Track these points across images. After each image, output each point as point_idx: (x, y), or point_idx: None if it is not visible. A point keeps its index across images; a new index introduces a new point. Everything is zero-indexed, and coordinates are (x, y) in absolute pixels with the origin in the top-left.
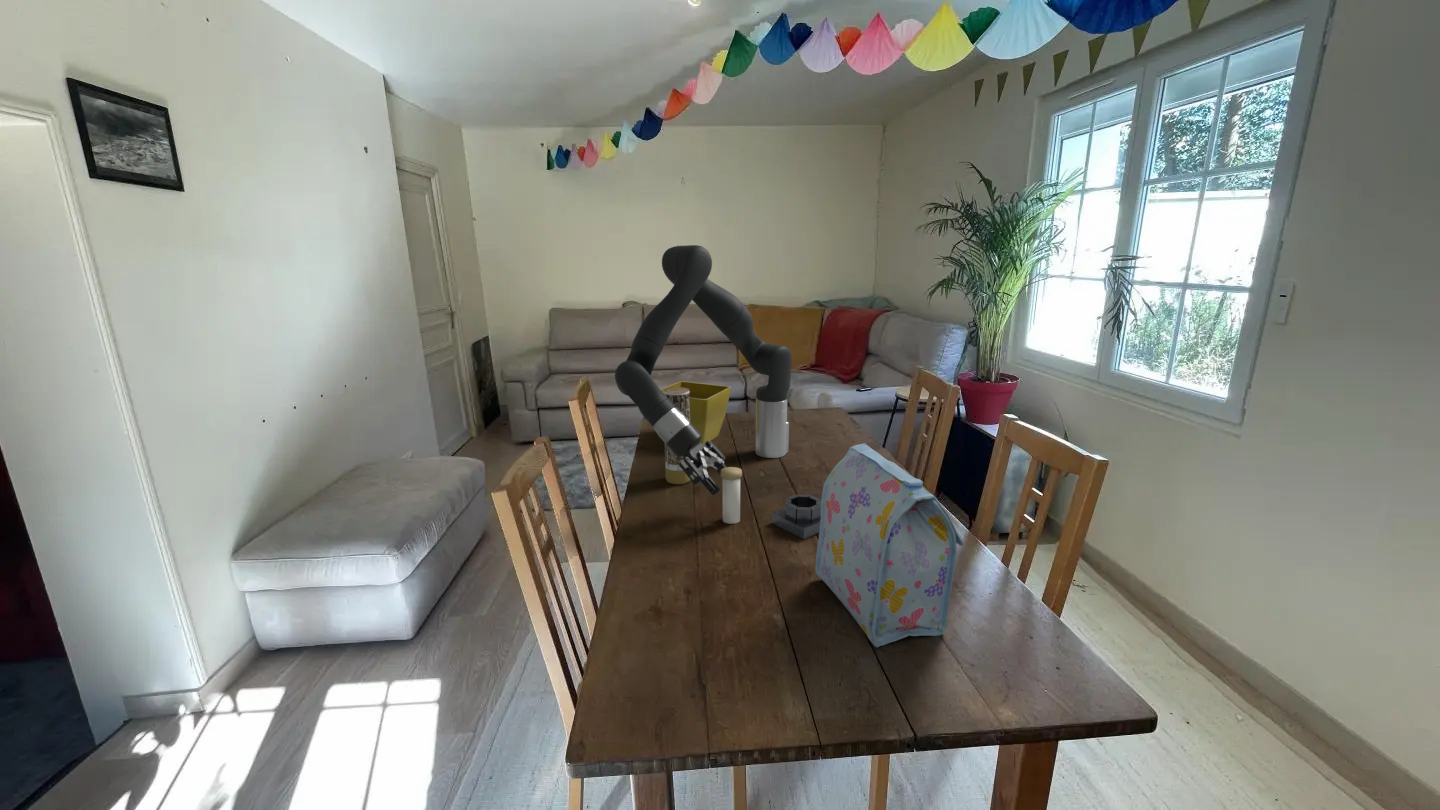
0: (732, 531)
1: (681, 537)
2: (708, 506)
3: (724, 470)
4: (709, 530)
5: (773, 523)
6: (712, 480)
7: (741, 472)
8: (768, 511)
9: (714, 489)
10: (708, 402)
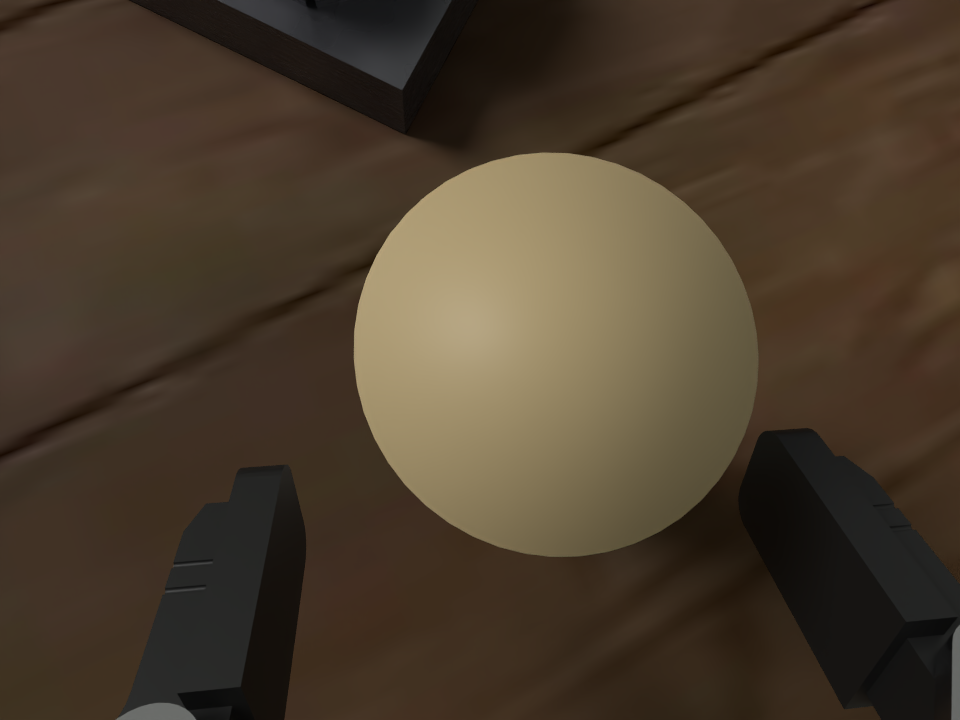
0: None
1: None
2: (328, 701)
3: (602, 475)
4: None
5: (413, 115)
6: (872, 552)
7: (543, 153)
8: (226, 213)
9: (861, 474)
10: None
